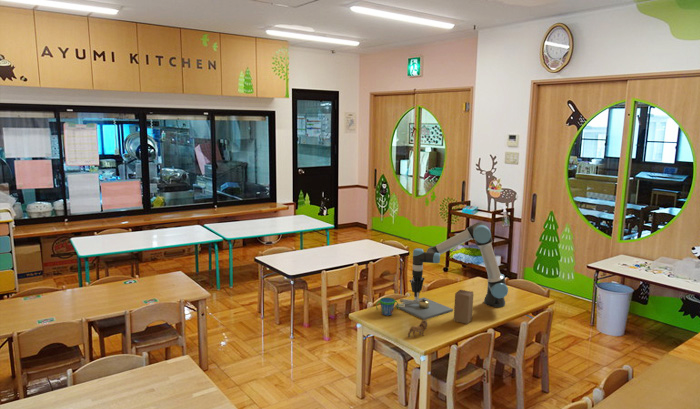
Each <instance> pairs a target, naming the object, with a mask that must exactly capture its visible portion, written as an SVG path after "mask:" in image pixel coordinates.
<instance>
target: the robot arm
mask: <svg viewBox="0 0 700 409" xmlns="http://www.w3.org/2000/svg"><path fill="white" fill-rule="evenodd" d="M470 240H472V241H473V240H474V241H475V245H476V247H478V248H479V250H480V253H481V256H482V260H483V265H484V267H485V270H486V273H487V281H486V282H487V288H486V290H487V291H486V294H485V297H484V299H483V303H484V305H486V306H488V307H493V308H503V307H504V306H506V300H505V297H506V296H507V295H508V293H509V288H508V286H507V283H506V280H505V278H506V277H505V275H504V274H502V273H501V271H500V267H499V264H498V262H497V258H496V255H495V254H496V253H495V251H494V249H493V245H492V243H493V236H492V233H491V230H490V228H489V226H488V225H487V224H486V223H485V222H481V221H479V222H475V223H473V224H472V225H470V226H467V227H466V229H465V230H463V231H461V232H459V233H458V234H456V235H454V236H451V237H450V238H448V239H446V240H444V241H442V242H440V243H438V244H436V245H434V246H430V247H428V248H427V249H426V251H424V249H423V248H414V249H413V250H412V270H411V272H412V273H411V274H412V279H410V280H409V282H410V286H411V292H412V293H413V296H414V300H417V301H419V299H420V298H419V297H420V293H421V291H422V290H423V284H424V281H425V277H424V276H423V274H424V271H423V270H424V263H427V264H428V263H430V264H440V262H441V255H442V254H444V253H446V252H449V251H450V250H452V249H455V248H456V247H458V246H461V245H462V244H464V243H467V242H469V241H470Z"/></svg>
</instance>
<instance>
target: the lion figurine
mask: <svg viewBox="0 0 700 409" xmlns="http://www.w3.org/2000/svg"><path fill="white" fill-rule="evenodd" d="M427 327H428V321H427V319H426V320H423V319H422V320H421V322H420V325H412V326H411V327H410V328H409V332H408V334H407V335H408V336H407V338H409V337H410V336H411V333H412V336H413V338H417V336H416V332H419V333H418V334H419V335H421V336H423V337H424V336H425V334H424V333H425V330H427Z"/></svg>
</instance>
